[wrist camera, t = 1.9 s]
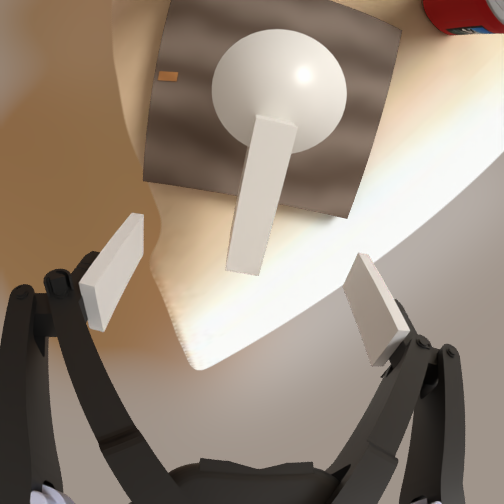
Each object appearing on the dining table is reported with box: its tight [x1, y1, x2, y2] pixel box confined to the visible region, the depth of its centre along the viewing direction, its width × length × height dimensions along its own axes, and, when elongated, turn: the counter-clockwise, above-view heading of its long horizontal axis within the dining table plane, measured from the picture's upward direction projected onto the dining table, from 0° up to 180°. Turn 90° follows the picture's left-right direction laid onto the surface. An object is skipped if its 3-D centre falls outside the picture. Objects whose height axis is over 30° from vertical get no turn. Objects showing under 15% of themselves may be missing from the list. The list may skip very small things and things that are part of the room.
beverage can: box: [423, 0, 504, 35], centre depth 13 cm, size 7×7×12 cm
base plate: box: [143, 0, 402, 219], centre depth 25 cm, size 24×24×2 cm
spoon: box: [212, 29, 347, 276], centre depth 19 cm, size 18×9×6 cm, turn 168°
